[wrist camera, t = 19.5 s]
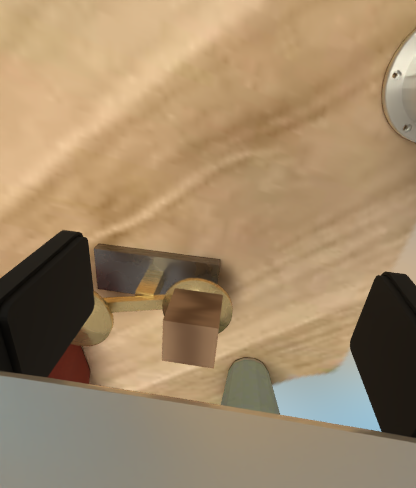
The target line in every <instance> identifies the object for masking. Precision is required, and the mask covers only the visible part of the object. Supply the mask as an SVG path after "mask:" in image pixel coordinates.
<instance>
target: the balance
mask: <svg viewBox="0 0 416 488" xmlns="http://www.w3.org/2000/svg"><path fill="white" fill-rule="evenodd" d="M94 255H95V265H96V275H97V285H98V289H103V290H110V291H117V292H124V293H131V294H135V295H136V296H128V297H109V298H102V297H101V296H100V295H99V294H98V293H96V292H95V291H94V301H95V305H94V309H93V312H92V314H91V315H90V316H89V318H88V319H87V321H86V322H85V324H84V325H83V327H82V328H81V329H80V331H79V332H78V334H77V335H76V337H75V338H74V340H73V341H72V343H71V344H73V345H78V346H92V345H96V344H99V343H101V342H102V341H104V340H105V339H106V338H107V337H108V335H109V333H110V332H111V330H112V327H113V314H112V312H127V311H143V310H159V309H162V310H163V314H164V316H165V314H166V311H167V308H168V305H169V303H170V300H171V297H172V295H173V292H174V289H175V288H179V289H186V290H193V291H200V292H207V293H214V294H221V295H223V300H222V308H221V316H220V324H219V332H218V333H220V332H222V331H223V330H224V329H225V328H226V327H227V326H228V325H229V323H230V321H231V318H232V309H233V308H232V302H231V300H230V297H229V296H228V294H227V293H226V292H225V290H224V289H222V288H221V287H220V286H219V285H217V282H218V274H219V265H220V259H213V258H205V257H197V256H190V255H182V254H174V253H167V252H159V251H151V250H144V249H136V248H128V247H121V246H113V245H105V244H98V245H97V246H96V247H95V248H94Z"/></svg>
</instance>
